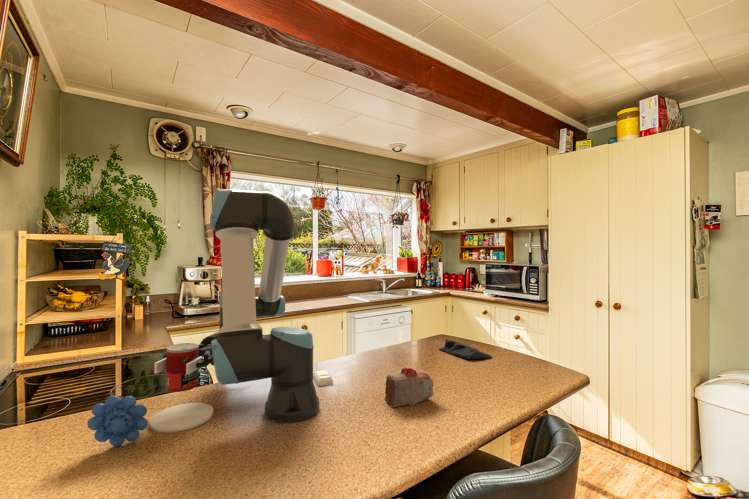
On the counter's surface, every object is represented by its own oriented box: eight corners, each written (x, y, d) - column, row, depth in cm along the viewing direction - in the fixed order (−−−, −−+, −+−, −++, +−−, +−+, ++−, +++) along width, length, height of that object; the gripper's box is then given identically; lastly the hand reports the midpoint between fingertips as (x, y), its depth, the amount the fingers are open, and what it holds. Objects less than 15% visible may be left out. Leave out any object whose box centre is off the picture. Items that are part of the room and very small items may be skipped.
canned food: (185, 393, 94) (185, 351, 93) (159, 391, 95) (159, 349, 95) (205, 382, 101) (205, 343, 101) (180, 380, 103) (180, 342, 103)
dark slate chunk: (465, 363, 146) (465, 351, 146) (436, 350, 167) (436, 339, 167) (495, 359, 152) (495, 348, 152) (463, 346, 172) (463, 336, 172)
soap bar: (326, 376, 131) (326, 369, 131) (332, 385, 123) (332, 377, 123) (313, 378, 129) (313, 371, 129) (318, 387, 121) (318, 379, 121)
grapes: (84, 462, 77) (84, 406, 77) (88, 448, 83) (88, 396, 83) (148, 447, 83) (148, 395, 83) (148, 434, 89) (148, 385, 89)
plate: (224, 414, 100) (224, 410, 100) (170, 438, 87) (170, 433, 87) (192, 402, 108) (192, 398, 108) (138, 423, 95) (138, 418, 95)
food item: (420, 392, 115) (420, 361, 115) (435, 401, 108) (435, 368, 108) (382, 400, 109) (382, 368, 109) (396, 411, 102) (396, 376, 102)
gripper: (247, 357, 115) (210, 384, 92) (185, 355, 117) (133, 382, 94) (247, 334, 115) (210, 355, 92) (185, 332, 117) (133, 353, 94)
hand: (171, 368), depth 93 cm, fingers closed on canned food, 8 cm apart
